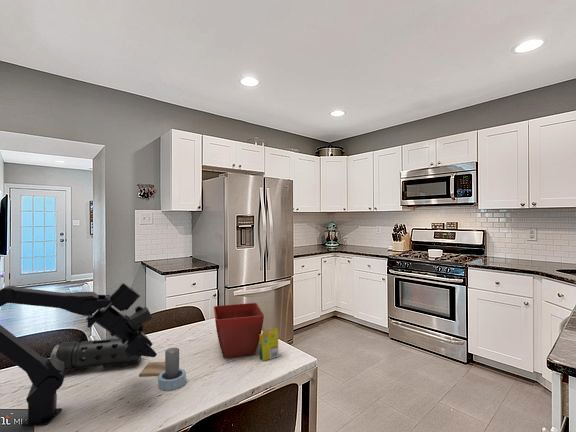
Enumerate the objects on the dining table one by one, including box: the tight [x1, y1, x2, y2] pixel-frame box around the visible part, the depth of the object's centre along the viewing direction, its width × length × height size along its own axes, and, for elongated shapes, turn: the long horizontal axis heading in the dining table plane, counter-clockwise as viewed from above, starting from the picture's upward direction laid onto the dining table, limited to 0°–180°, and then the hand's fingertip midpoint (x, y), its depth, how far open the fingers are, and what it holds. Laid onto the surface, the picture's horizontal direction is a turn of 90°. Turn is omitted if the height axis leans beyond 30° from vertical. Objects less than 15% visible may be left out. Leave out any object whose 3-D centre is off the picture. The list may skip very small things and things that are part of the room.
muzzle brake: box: [50, 337, 142, 372], centre depth 113 cm, size 10×28×10 cm, turn 105°
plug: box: [164, 347, 180, 380], centre depth 102 cm, size 4×4×11 cm
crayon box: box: [258, 327, 279, 362], centre depth 121 cm, size 7×3×12 cm, turn 122°
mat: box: [138, 361, 165, 377], centre depth 111 cm, size 9×9×1 cm
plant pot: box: [213, 302, 265, 359], centre depth 128 cm, size 19×19×17 cm
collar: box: [157, 367, 187, 392], centre depth 102 cm, size 8×8×3 cm
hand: (153, 350), depth 99 cm, fingers open, 9 cm apart
